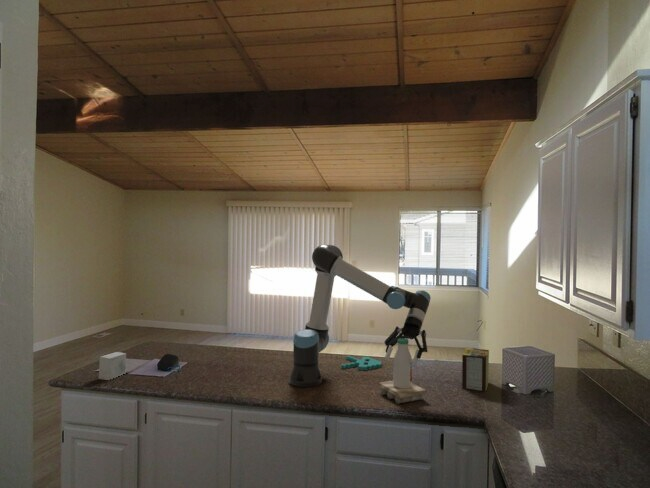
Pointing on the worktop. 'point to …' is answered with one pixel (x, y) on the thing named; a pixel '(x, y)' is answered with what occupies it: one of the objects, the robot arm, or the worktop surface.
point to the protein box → (475, 369)
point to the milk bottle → (402, 366)
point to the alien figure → (362, 363)
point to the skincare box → (112, 365)
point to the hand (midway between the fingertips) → (399, 362)
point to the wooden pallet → (402, 392)
